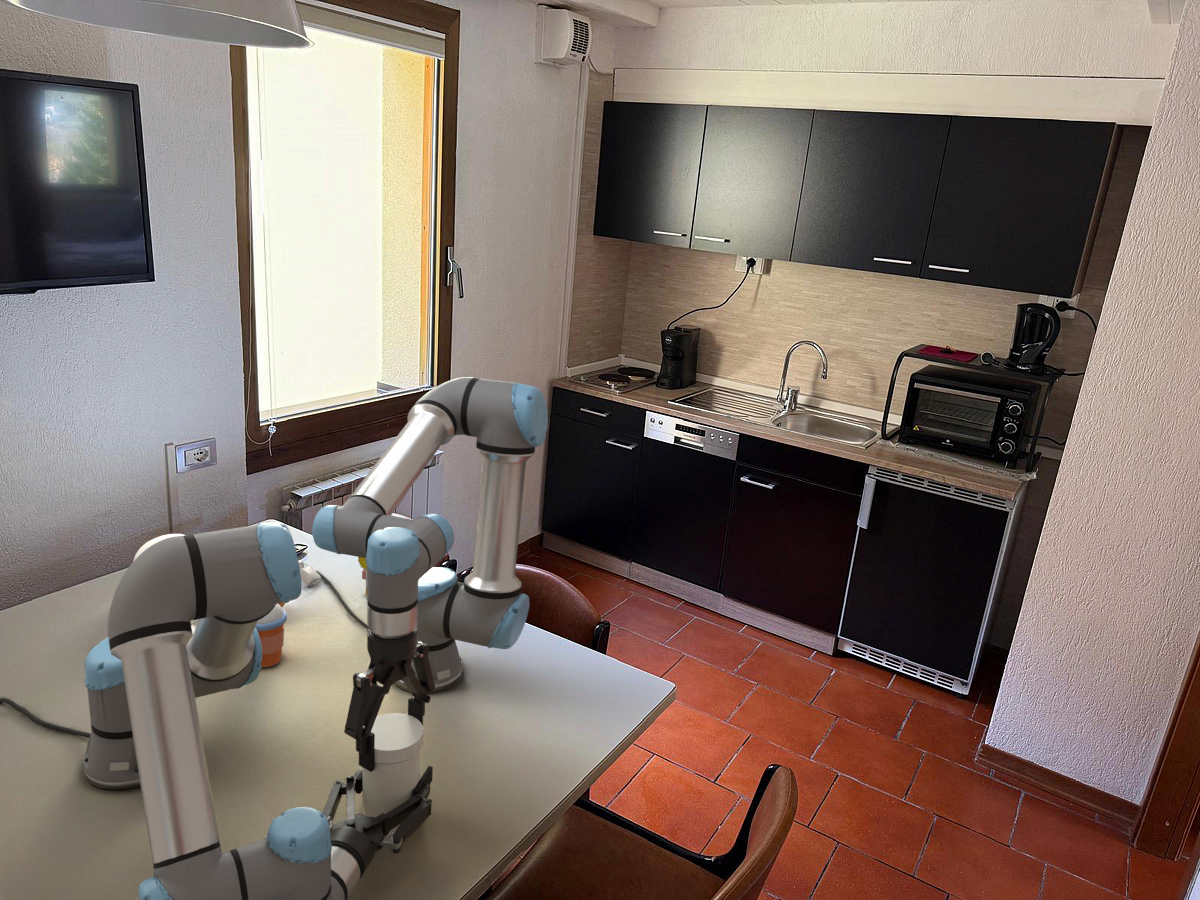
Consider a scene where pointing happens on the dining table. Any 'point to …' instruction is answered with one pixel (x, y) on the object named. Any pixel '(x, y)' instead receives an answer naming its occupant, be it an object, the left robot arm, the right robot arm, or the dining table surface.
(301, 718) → the dining table surface
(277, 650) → the cup with straw
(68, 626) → the dining table surface
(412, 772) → the jar
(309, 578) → the clamp
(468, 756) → the dining table surface
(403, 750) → the lid
